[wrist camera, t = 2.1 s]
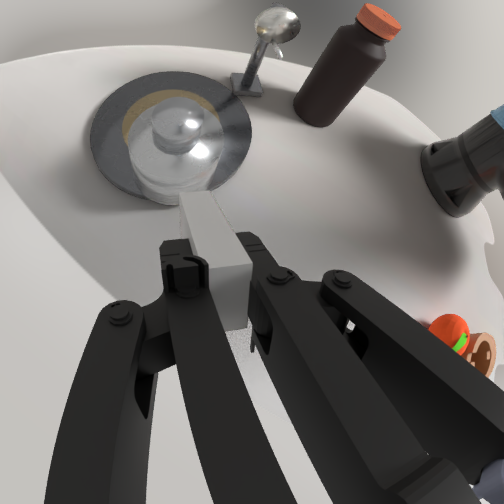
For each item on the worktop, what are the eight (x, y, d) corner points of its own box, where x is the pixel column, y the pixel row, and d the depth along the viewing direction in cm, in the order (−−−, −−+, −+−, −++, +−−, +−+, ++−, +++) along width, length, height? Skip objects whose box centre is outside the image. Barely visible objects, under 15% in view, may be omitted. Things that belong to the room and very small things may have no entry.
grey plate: (236, 77, 37) (238, 72, 36) (262, 194, 33) (266, 190, 32) (101, 83, 31) (100, 78, 30) (87, 211, 27) (84, 206, 26)
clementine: (421, 375, 34) (458, 378, 27) (406, 338, 34) (445, 337, 28) (447, 342, 36) (482, 340, 30) (434, 307, 37) (470, 301, 30)
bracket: (433, 387, 34) (467, 390, 28) (438, 335, 36) (473, 332, 30) (482, 376, 38) (510, 376, 32) (486, 335, 40) (513, 332, 34)
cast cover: (209, 133, 32) (224, 80, 24) (219, 201, 30) (238, 156, 22) (133, 138, 29) (128, 83, 21) (134, 209, 28) (122, 164, 19)
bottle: (297, 89, 40) (357, -7, 21) (334, 108, 41) (404, 22, 22) (287, 115, 38) (357, 7, 19) (329, 135, 39) (411, 42, 20)
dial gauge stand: (258, 79, 38) (295, 0, 24) (270, 118, 37) (318, 33, 22) (226, 77, 37) (256, -8, 22) (235, 117, 35) (272, 23, 21)
